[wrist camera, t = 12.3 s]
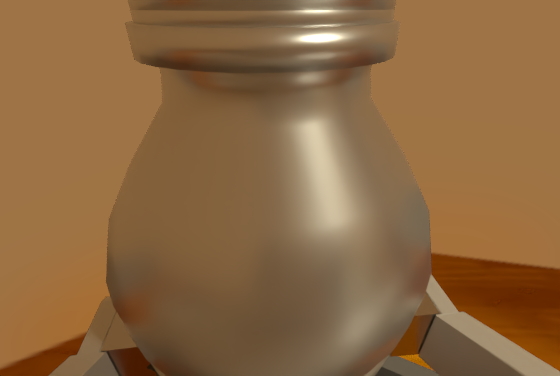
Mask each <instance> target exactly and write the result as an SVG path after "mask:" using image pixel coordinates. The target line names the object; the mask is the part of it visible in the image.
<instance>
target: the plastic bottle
mask: <svg viewBox="0 0 560 376" xmlns="http://www.w3.org/2000/svg"><path fill="white" fill-rule="evenodd" d="M128 3H129V6H130V11H131V15H132V19H133V21H131V22H126V23H125V25H126V29H127V33H128V37H129V41H130V45H131V49H132V53H133V57H134V60H136V61H138V62H140V63H142V64H146V65H151V66H155V67H159V68H160V73H161V81H162V82H161V83H162V104H161V106H160V107H159V109H158V111H157V113H156V115H155V117H154V119H153V121H152V123H151V125H150V126H149V128H148V130H147V132H146V134H145V136H144V138H143V140H142V142H141V144H140V145H139V147H138V149H137V151H136V153H135V155H134V157H133V159H132V161H131V164H130V165H129V168H128V170H127V173H126V176H125V178H124V181H123V183H122V186H121V189H120V191H119V194H118V196H117V199H116V202H115V205H114V207H113V210H112V212H111V215H110V218H109V227H108V247H107V250H108V251H107V277H106V282H107V286H108V289H109V293H110V297H111V300H112V303H113V307H114V308H115V310H116V312H117V313H118V315H119V317H120V318H121V320H122V322H123V324H124V326H125V327H126V329H127V331H128V333H129V335H130V337H131V338H132V340H133V341H134V342H135V344H136V345H137V347H138V348H139V349H140V351H141V352H142V354H143V355H144V357H145V358H146V359H147V361H148V362H150V363H151V365H152V366H153V368H154V369H155V370H156V372H157V373H158V374H159V375H160V376H375V375H376V374H377V372H378V371H379V370H380V368H381V367H382V365H383V364H384V362H385V361H386V359H387V358H388V356H389V355H390V353H391V352H392V351H393V350H394V348H395V347H396V345H397V344H398V342H399V341H400V339H401V338H402V336H403V335H404V333H405V332H406V330H407V329H408V327H409V326H410V324H411V322H412V319H413V317H414V315H415V313H416V311H417V309H418V307H419V306H420V304H421V302H422V300H423V298H424V296H425V293H426V289H427V286H428V283H429V279H430V276H431V273H432V270H431V243H430V223H429V210H428V208H427V205H426V203H425V200H424V198H423V195H422V193H421V191H420V189H419V186H418V184H417V182H416V179H415V177H414V175H413V173H412V170H411V168H410V166H409V163H408V161H407V159H406V157H405V154H404V152H403V151H402V149H401V147H400V145H399V144H398V142H397V140H396V139H395V137H394V135H393V134H392V132H391V130H390V129H389V127H388V125H387V123H386V122H385V120H384V119H383V117H382V115H381V113H380V112H379V110H378V108H377V107H376V105H375V103H374V102H373V100H372V98H371V81H370V80H371V79H370V72H371V66H372V64H377V63H381V62H385V61H387V60H389V59H391V58H393V57H394V55H395V51H396V45H397V39H398V33H399V27H400V22H399V21H395V20H393V16H394V10H395V4H396V0H128Z"/></svg>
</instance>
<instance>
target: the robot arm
mask: <svg viewBox="0 0 560 376" xmlns="http://www.w3.org/2000/svg"><path fill="white" fill-rule="evenodd" d="M414 354H419V357H421V358H422V359H423V360H424V361H425V362H426V363H427V364H428V365H429V366H430V367H431V368H432V369H433V370H434V371H435V372H437V373H438V374H439V375H440V376H560V371H558V370H556V369H555V368H553V367H552V366H550V365H548V364H547V363H545V362H544V361H542V360H540V359H539V358H537V357H536V356H534V355H532V354H531V353H529V352H528V351H526V350H524V349H523V348H521V347H520V346H518V345H516V344H515V343H513V342H512V341H510V340H508V339H507V338H505V337H504V336H502V335H500V334H499V333H497V332H496V331H494V330H492V329H491V328H489V327H488V326H486V325H484V324H483V323H481V322H480V321H478V320H476V319H475V318H473V317H472V316H470V315H468V314H467V313H465V312H458V310H457V309H456V307H455V306H454V305H453V303H452V302H451V301H450V299H449V298H448V296H447V295H446V294H445V292H444V291H443V290H442V288H441V287H440V285H439V284H438V283H437V281H436V280H435V279H434V277H433V276H432V275H431V276H430V279H429V283H428V286H427V289H426V293H425V296H424V298H423V300H422V302H421V304H420V306H419V307H418V309H417V311H416V313H415V315H414V317H413V319H412V322H411V324H410V326H409V327H408V329H407V330H406V332H405V333H404V335H403V336H402V338H401V339H400V341H399V342H398V344H397V345H396V347H395V348H394V350H393V351H392V352H391V353H390V357H393V356H403V355H414ZM48 376H160V375H159V374H158V373H157V372H156V370H155V369H154V368H153V366H152V365H151V363H150V362H148V361H147V359H146V358H145V357H144V355H143V354H142V352H141V351H140V349H139V348H138V347H137V345H136V344H135V342H134V341H133V340H132V338H131V337H130V335H129V333H128V331H127V329H126V327H125V326H124V324H123V322H122V320H121V318H120V317H119V315H118V313H117V312H116V310H115V308H114V307H113V303H112V300H111V297H106V298H105V299H104V300H103V301H102V302H101V304H100V306H99V308H98V310H97V312H96V314H95V316H94V319H93V321H92V323H91V325H90V327H89V329H88V332H87V334H86V336H85V338H84V340H83V342H82V344H81V347H80V349H79V351H78V353H77V355H72V356H70V357H68V358H67V359H66V360H65V361H64V362H63V363H62V364H61V365H60V366H58V367H57V368H56V369H55V370H54V371H53V372H52V373H51V374H50V375H48Z"/></svg>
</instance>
